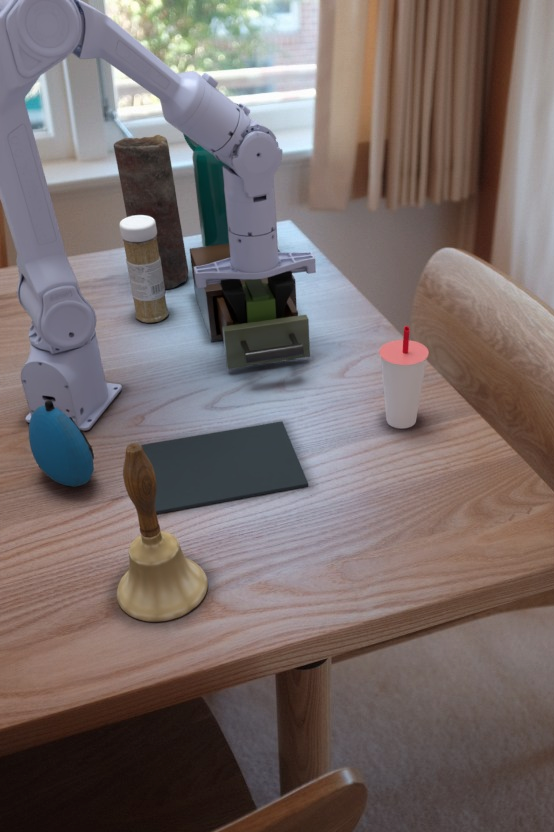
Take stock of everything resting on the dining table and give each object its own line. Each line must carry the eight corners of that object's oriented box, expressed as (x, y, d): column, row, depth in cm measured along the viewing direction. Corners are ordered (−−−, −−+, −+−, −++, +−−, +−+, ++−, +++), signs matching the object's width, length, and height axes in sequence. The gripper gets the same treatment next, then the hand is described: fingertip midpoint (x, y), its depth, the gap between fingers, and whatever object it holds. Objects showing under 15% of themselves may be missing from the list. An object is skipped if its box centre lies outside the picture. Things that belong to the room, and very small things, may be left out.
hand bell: (100, 611, 81) (63, 469, 71) (142, 551, 87) (114, 412, 77) (185, 631, 79) (159, 488, 69) (222, 568, 85) (203, 428, 75)
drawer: (318, 373, 110) (317, 335, 107) (234, 387, 108) (230, 347, 105) (287, 311, 123) (285, 275, 119) (210, 322, 120) (206, 285, 117)
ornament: (112, 483, 95) (95, 403, 89) (78, 506, 93) (58, 425, 86) (61, 455, 99) (41, 377, 93) (27, 476, 96) (3, 396, 90)
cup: (427, 432, 102) (433, 337, 94) (379, 434, 102) (381, 339, 94) (421, 406, 106) (426, 313, 98) (376, 408, 106) (377, 315, 98)
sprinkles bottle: (158, 305, 126) (143, 210, 118) (175, 317, 124) (161, 221, 115) (129, 315, 124) (112, 219, 115) (145, 327, 121) (129, 230, 113)
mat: (308, 486, 95) (308, 483, 94) (155, 514, 91) (154, 511, 91) (282, 424, 104) (282, 421, 103) (141, 447, 100) (141, 444, 100)
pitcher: (267, 245, 141) (258, 95, 127) (256, 268, 135) (244, 113, 121) (206, 242, 142) (190, 93, 128) (192, 265, 136) (173, 111, 122)
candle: (127, 286, 131) (102, 144, 118) (150, 265, 136) (128, 127, 123) (176, 293, 129) (156, 149, 116) (197, 271, 134) (180, 131, 122)
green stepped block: (277, 342, 114) (274, 294, 109) (250, 346, 113) (246, 298, 109) (269, 323, 117) (266, 277, 113) (242, 327, 116) (238, 280, 112)
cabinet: (297, 329, 121) (295, 279, 116) (211, 341, 118) (205, 291, 114) (275, 285, 131) (272, 237, 126) (195, 296, 128) (189, 248, 124)
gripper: (304, 207, 110) (307, 308, 119) (185, 221, 107) (197, 324, 116) (319, 229, 105) (321, 334, 114) (194, 244, 102) (207, 350, 111)
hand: (260, 331), depth 115 cm, fingers closed on green stepped block, 3 cm apart
